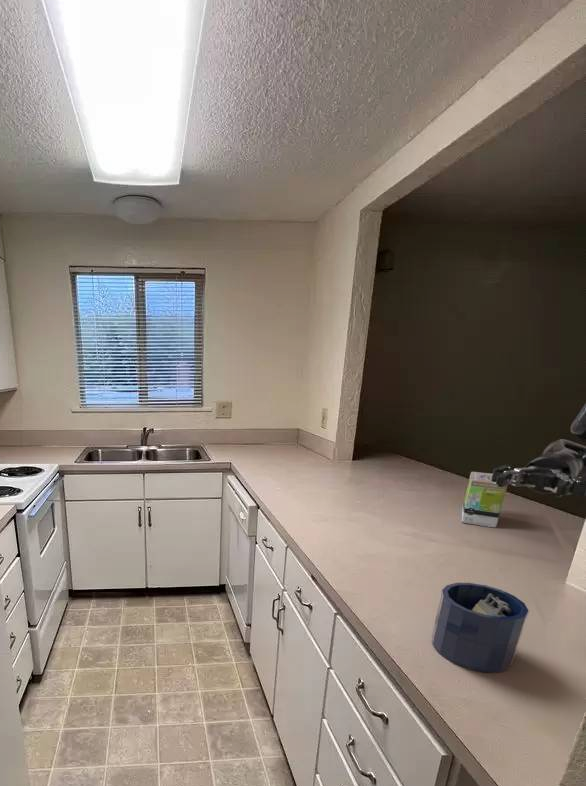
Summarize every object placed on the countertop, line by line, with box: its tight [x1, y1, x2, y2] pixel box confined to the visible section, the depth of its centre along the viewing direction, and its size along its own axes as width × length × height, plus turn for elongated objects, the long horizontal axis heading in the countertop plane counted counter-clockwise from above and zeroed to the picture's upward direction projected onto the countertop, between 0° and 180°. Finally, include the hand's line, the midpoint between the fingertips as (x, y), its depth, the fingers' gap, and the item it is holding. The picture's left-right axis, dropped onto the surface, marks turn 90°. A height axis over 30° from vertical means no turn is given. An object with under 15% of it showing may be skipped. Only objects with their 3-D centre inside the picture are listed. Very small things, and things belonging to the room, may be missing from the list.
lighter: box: [472, 593, 511, 617], centre depth 80 cm, size 7×4×10 cm, turn 174°
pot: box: [431, 582, 530, 674], centre depth 80 cm, size 13×13×11 cm
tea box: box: [461, 471, 509, 528], centre depth 145 cm, size 15×10×15 cm
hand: (529, 486), depth 78 cm, fingers open, 8 cm apart
